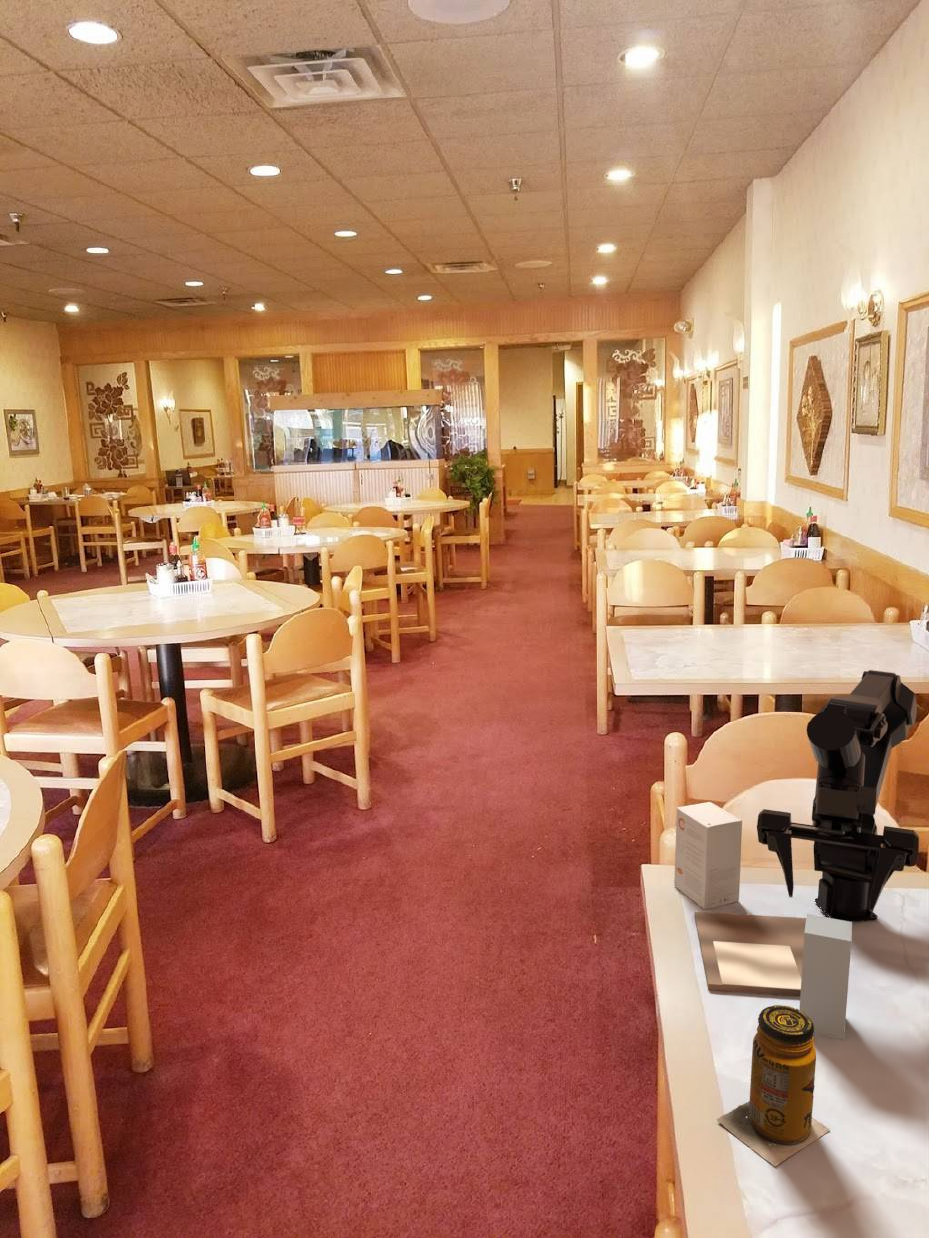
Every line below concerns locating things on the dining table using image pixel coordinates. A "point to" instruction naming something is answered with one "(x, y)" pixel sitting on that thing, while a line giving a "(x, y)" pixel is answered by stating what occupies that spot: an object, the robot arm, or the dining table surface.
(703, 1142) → the dining table surface
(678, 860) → the small box
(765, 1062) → the condiment
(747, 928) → the brown square board
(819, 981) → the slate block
